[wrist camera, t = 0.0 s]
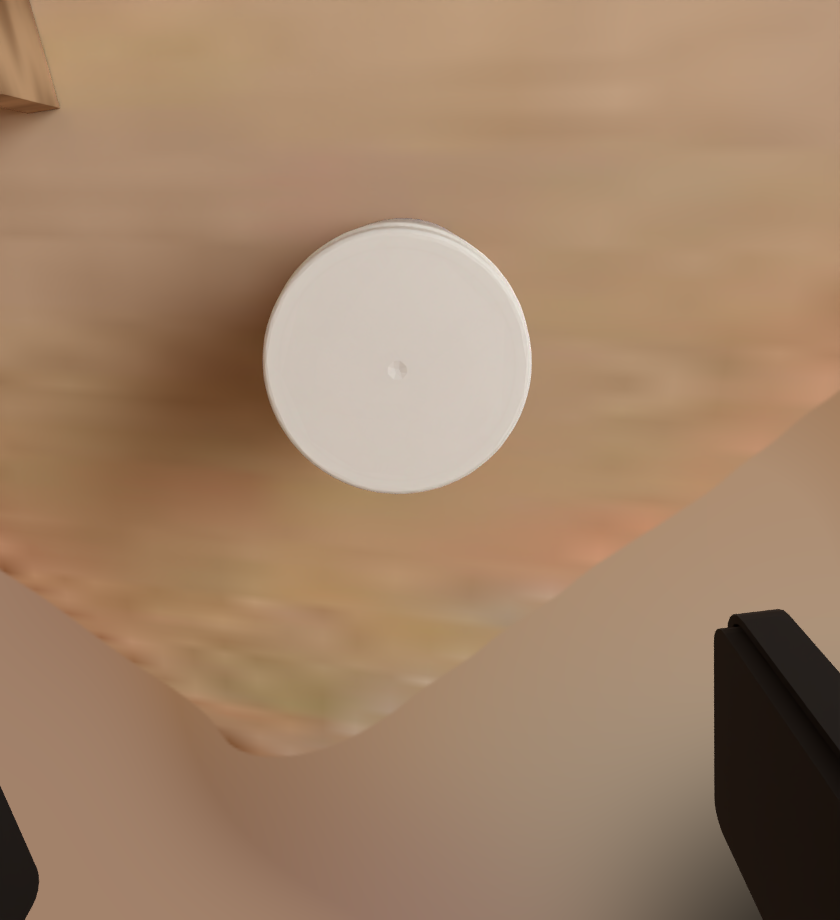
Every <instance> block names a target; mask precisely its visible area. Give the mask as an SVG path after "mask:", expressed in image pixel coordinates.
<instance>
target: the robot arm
mask: <svg viewBox="0 0 840 920" xmlns="http://www.w3.org/2000/svg"><path fill="white" fill-rule="evenodd" d="M714 752H715V753H714V754H715V755H714V757H715V758H714V773H715V774H714V776H715V777H714V780H715V781H714V783H715V784H714V785H715V807H716V813H717V817H718V821H719V824H720V828H721V830H722V833H723V835H724V837H725V839H726V842H727V844H728V846H729V848H730V850H731V852H732V854H733V857H734V858H735V861H736V863H737V865H738V867H739V869H740V872H741V873H742V876H743V878H744V880H745V882H746V884H747V887H748V889H749V891H750V893H751V895H752V897H753V899H754V901H755V904H756V906H757V908H758V910H759V912H760V914H761V916H762V918H763V920H840V673H839V672H838V670H837V669H836V668H835V667H834V666H833V665H832V664H831V662H830V661H829V660H828V659H827V658H826V657H825V656H824V655H823V653H822V652H821V651H820V650H819V649H818V648H817V647H816V646H815V644H814V643H813V642H812V641H811V640H810V638H809V637H808V636H807V635H806V634H805V633H804V631H803V630H802V629H801V628H800V627H799V626H798V625H797V623H795V621H794V620H793V619H792V618H791V617H790V616H789V615H788V614H787V613H786V612H785V611H784V610H780V609H776V610H767V611H760V612H750V613H742V614H733V615H732V616H731V617H730V619H729V622H728V628H721V629H717V630H716V632H715V635H714ZM38 885H39V875H38V871H37V868H36V865H35V864H34V862H33V859H32V856H31V854H30V852H29V850H28V847H27V845H26V843H25V841H24V838H23V836H22V834H21V832H20V830H19V827H18V825H17V823H16V820H15V818H14V816H13V814H12V811H11V809H10V807H9V805H8V802H7V800H6V798H5V796H4V793H3V791H2V789H1V787H0V920H25V918H26V916H27V915H28V913H29V911H30V909H31V907H32V905H33V903H34V901H35V899H36V895H37V892H38Z"/></svg>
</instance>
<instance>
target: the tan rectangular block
mask: <svg viewBox="0 0 840 920" xmlns="http://www.w3.org/2000/svg"><path fill="white" fill-rule="evenodd" d="M0 107H1V108H6V109H11V110H15V111H20V112H25V113H33V112H39V111H45V110H51V109H57V108H60V107H59V103H58V100H57V96H56V93H55V89H54V86H53V82H52V79H51V75H50V72H49V68H48V65H47V61H46V58H45V54H44V51H43V47H42V44H41V40H40V37H39V33H38V30H37V26H36V23H35V19H34V16H33V12H32V9H31V5H30V2H29V0H0Z"/></svg>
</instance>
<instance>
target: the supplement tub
mask: <svg viewBox="0 0 840 920" xmlns="http://www.w3.org/2000/svg"><path fill="white" fill-rule="evenodd" d="M531 366H532V360H531V346H530V339H529V334H528V330H527V325H526V321H525V317H524V314H523V311H522V308H521V306H520V303H519V301H518V299H517V297H516V295H515V293H514V292H513V289H512V287H511V286H510V284H509V283H508V281H507V280H506V278H505V277H504V276H503V275H502V273H501V272H500V271H499V269H498V268H497V267H496V266H495V265H494V264H493V263H492V262H491V261H490V260H489V259H488V258H487V257H486V256H485V255H484V254H483V253H481V252H480V251H479V250H477V249H476V248H475V247H473V246H472V245H471V244H469V243H468V242H466V241H465V240H463V239H461V238H460V237H458V236H457V235H455V234H453V233H452V232H450V231H448V230H447V229H445V228H443V227H441V226H439V225H437V224H434V223H431V222H427V221H423V220H418V219H410V218H396V219H388V220H383V221H379V222H375V223H371V224H368V225H365V226H362V227H359V228H357V229H354V230H351V231H349V232H346V233H344V234H342V235H340V236H338V237H336V238H334V239H332V240H331V241H329V242H328V243H326V244H325V245H323V246H322V247H320V248H319V249H318V250H316V251H315V252H313V253H312V254H311V255H310V256H309V257H308V258H307V259H306V260H305V261H304V262H303V263H302V264H301V265H300V266H299V267H298V268H297V269H296V270H295V272H294V273H293V274H292V276H291V277H290V278H289V280H288V281H287V283H286V284H285V286H284V288H283V290H282V292H281V293H280V295H279V297H278V299H277V301H276V303H275V306H274V308H273V310H272V312H271V315H270V318H269V321H268V325H267V329H266V333H265V337H264V346H263V375H264V382H265V387H266V391H267V395H268V399H269V402H270V404H271V407H272V410H273V412H274V414H275V416H276V418H277V421H278V422H279V424H280V426H281V428H282V429H283V431H284V432H285V434H286V435H287V437H288V438H289V440H290V441H291V442H292V443H293V445H294V446H295V447H296V448H297V449H298V450H299V451H300V452H301V454H302V455H303V456H304V457H306V458H307V459H308V460H309V461H310V462H311V463H312V464H314V465H315V466H317V467H318V468H319V469H321V470H322V471H324V472H325V473H327V474H328V475H330V476H332V477H334V478H336V479H338V480H340V481H342V482H344V483H347V484H349V485H351V486H354V487H357V488H360V489H364V490H369V491H373V492H378V493H390V494H408V493H417V492H424V491H428V490H433V489H436V488H440V487H443V486H445V485H448V484H450V483H453V482H455V481H457V480H459V479H461V478H463V477H465V476H467V475H469V474H470V473H471V472H473V471H474V470H476V469H477V468H478V467H480V466H481V465H482V464H484V463H485V462H486V461H487V460H488V459H489V458H490V457H491V456H493V455H494V454H495V453H496V452H497V450H498V449H499V448H500V447H501V446H502V445H503V443H504V442H505V440H506V439H507V438H508V436H509V435H510V433H511V432H512V430H513V428H514V427H515V425H516V423H517V421H518V419H519V417H520V415H521V413H522V410H523V407H524V404H525V401H526V398H527V395H528V390H529V386H530V379H531Z"/></svg>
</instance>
